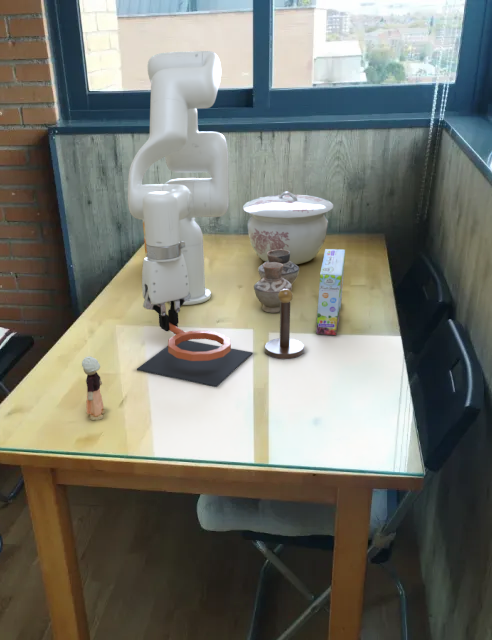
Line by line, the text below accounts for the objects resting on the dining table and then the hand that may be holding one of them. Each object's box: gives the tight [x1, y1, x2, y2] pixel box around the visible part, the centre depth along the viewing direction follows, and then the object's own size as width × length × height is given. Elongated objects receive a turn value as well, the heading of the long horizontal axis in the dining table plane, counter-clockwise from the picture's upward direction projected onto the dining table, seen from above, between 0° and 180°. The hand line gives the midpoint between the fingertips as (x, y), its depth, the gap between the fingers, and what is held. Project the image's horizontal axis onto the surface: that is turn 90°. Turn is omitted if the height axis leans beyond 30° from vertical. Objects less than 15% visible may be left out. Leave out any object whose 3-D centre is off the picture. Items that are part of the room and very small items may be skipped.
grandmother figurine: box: [81, 355, 106, 421], centre depth 134 cm, size 8×4×13 cm, turn 5°
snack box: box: [315, 248, 346, 336], centre depth 171 cm, size 21×6×15 cm, turn 168°
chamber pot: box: [242, 191, 335, 266], centre depth 213 cm, size 28×28×21 cm
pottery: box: [253, 250, 300, 314], centre depth 185 cm, size 11×25×12 cm, turn 170°
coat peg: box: [264, 289, 305, 360], centre depth 156 cm, size 9×9×15 cm
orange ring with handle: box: [167, 322, 232, 361], centre depth 155 cm, size 24×14×2 cm, turn 32°
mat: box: [136, 340, 253, 388], centre depth 156 cm, size 20×18×1 cm
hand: (169, 328), depth 162 cm, fingers closed on orange ring with handle, 1 cm apart
